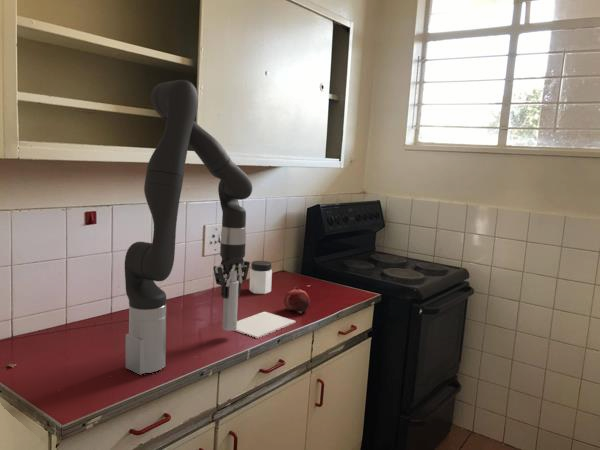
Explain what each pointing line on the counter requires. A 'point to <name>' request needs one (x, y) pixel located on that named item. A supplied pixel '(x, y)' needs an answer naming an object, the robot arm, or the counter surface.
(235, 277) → the bottle
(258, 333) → the tile
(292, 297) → the fruit
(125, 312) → the counter surface
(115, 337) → the counter surface
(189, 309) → the counter surface
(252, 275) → the jar
